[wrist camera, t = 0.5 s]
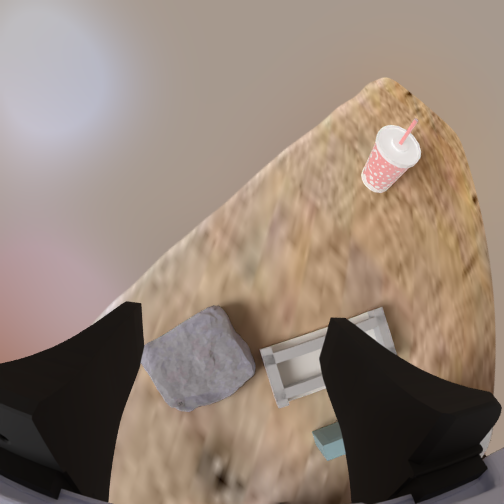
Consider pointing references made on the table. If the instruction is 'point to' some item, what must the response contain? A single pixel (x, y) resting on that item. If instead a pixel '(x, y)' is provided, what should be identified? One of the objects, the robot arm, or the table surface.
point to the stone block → (199, 361)
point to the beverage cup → (390, 157)
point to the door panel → (330, 441)
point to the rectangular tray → (312, 358)
